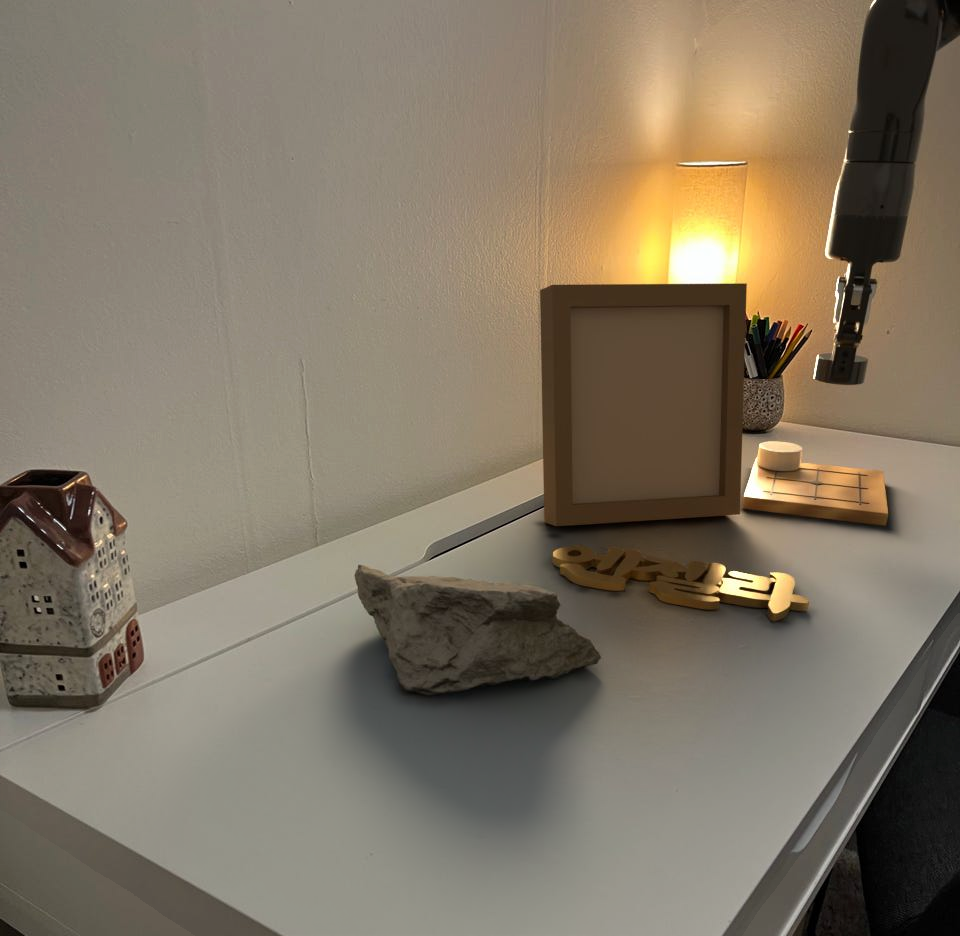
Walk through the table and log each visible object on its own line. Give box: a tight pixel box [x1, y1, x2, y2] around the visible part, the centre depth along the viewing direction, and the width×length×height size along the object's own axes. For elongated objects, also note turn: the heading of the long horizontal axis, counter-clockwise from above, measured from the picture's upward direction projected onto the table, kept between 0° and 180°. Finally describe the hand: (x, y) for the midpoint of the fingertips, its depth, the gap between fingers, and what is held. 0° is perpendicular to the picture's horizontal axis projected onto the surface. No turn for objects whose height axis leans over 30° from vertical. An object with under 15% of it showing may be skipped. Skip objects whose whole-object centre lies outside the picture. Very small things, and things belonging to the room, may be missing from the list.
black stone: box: [813, 352, 869, 386], centre depth 107 cm, size 5×5×2 cm
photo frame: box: [539, 282, 748, 527], centre depth 107 cm, size 15×22×25 cm
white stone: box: [756, 440, 804, 471], centre depth 124 cm, size 5×5×2 cm
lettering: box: [551, 544, 810, 622], centre depth 92 cm, size 25×10×1 cm, turn 68°
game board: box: [741, 457, 889, 527], centre depth 118 cm, size 16×18×2 cm
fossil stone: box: [354, 564, 602, 697], centre depth 76 cm, size 20×15×10 cm
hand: (839, 375), depth 107 cm, fingers closed on black stone, 5 cm apart
